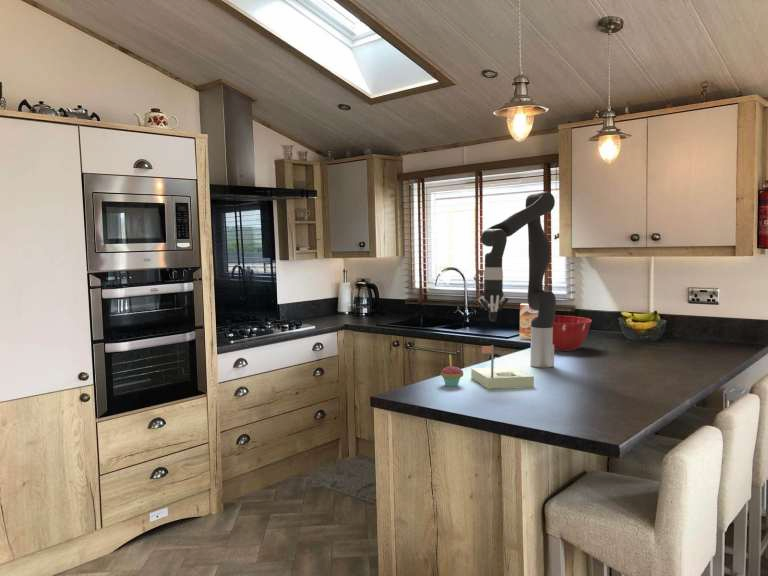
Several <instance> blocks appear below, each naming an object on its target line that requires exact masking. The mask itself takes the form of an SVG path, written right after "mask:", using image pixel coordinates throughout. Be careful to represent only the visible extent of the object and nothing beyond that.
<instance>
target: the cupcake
mask: <svg viewBox="0 0 768 576" xmlns="http://www.w3.org/2000/svg"><path fill="white" fill-rule="evenodd" d="M448 356H449V357H448V358H449V366H446V367H444V368H443V369H441V371H440V376H441V377H442V378H443V381H444V384H445V386H447V387H458V386H459V383H460V379H461V378H462V377H463V376H464V371H463V370H462V369H461V368H460V367H456V366H453V365H452V355H451V354H449V355H448Z"/></svg>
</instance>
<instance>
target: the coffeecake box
mask: <svg viewBox="0 0 768 576" xmlns="http://www.w3.org/2000/svg"><path fill="white" fill-rule="evenodd" d="M534 317H538V311H536V310H532V309H531V308H530V307H529V305H528V303H520V306H519V340H530V339H531V321H532V320H533V318H534Z"/></svg>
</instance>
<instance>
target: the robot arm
mask: <svg viewBox="0 0 768 576" xmlns="http://www.w3.org/2000/svg"><path fill="white" fill-rule="evenodd" d="M555 203H556V200H555V196H554V195H553V194H552V193H551V192H549V191H539V192H538V191H537V192H531V193H529V194H528V195H527V196H526V198H525V208H523V209H520V210H518V211H516V212H513V213H512V214H510V215H509V216H507V217H505V218H504V219H503V220H502V221H500V222H499V223H496V224H494V225H491V226H490V227H487V228H486V229H485V230H484V231H483V232H482V234H481V237H480V240H481V244H483V246H486V247H491V251H489V252H487V253H485V256H484V271H483V293H482V296H480V297H478V298H477V301H478V302H479V304H480V305H481V306H482V308H483V309H484V310H485V311H488V319H489V321H491V322H496V320H497V319H498V311H501V310H503V308H504V307H505V305H506V304H507V303H508V301H509V300H510V299H509V298H508V297H506V296H505V295H504V291H503V288H504V287H503V286H504V283H503V282H504V281H503V279H504V274H503V273H504V272H503V271H504V270H503V257H504V253H505V250H506V245H507V241H508V240H507V239H508V238H509V237H511V236H513V235H514V234H515V233H517V232H518V231H519V230H520V229H522V228H523V227H525V226H526V225H527V233H528V234H527V235H528V237H527V238H528V286H527V287H528V288H527V304H528V305H529V307H530V308H531V309H532V310H536V311H538V317H537V318H535V319H533V320H532V321H531V340H530V358H529V359H530V363H529V365H530V366H531V367H532V368H533V367H534V368H543V369H544V368H545V369H546V368H551V367H553V368H554V367H555V350H554V345H553V344H552V341H553V322H554V320H555V316H556V306H557V302H556V295H555V293H554V292H553V291H551V290H546V289H545V290H544V289H543V288H544V287H543V281H544V280H543V279H544V277H545V274H546V271H547V269H548V267H549V266H550V265H549V264H550V261H551V256H552V255H551V242H550V240H549V238H548V236H547V234H546V232H545V231H544V228H543V227H542V222H541V217H542V216H544V215H547V214H548V213H550V212H552V210H553V209H554V207H555ZM485 300H486V302H485Z"/></svg>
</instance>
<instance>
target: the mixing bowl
mask: <svg viewBox="0 0 768 576" xmlns="http://www.w3.org/2000/svg"><path fill="white" fill-rule="evenodd" d="M535 318H537V317H534V318H533V319H535ZM591 323H592V319H591V318H587V317H581V316H574V315H555V320H554V322H553V341H552V344H553V345H554V352H556V351H557V352H572V351H571V350H573V351H576V350H577V349H579V347H581V346H582V345H583V342H585V340H586V337H587V335H588V333H589V330H590V327H591Z"/></svg>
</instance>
